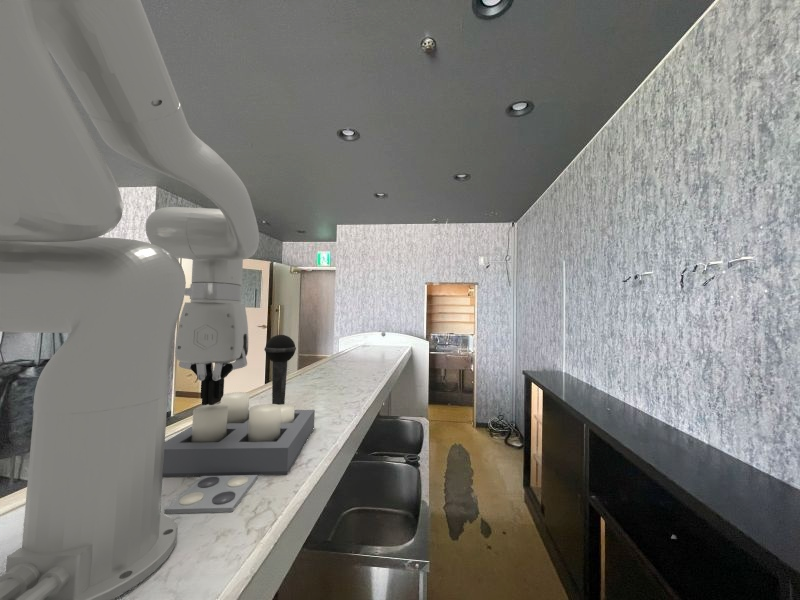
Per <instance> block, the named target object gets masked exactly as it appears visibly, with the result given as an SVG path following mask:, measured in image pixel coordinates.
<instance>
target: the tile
mask: <svg viewBox="0 0 800 600" xmlns="http://www.w3.org/2000/svg"><path fill="white" fill-rule="evenodd" d="M258 477H259V475H232V476H199V478H198V479H197V480H196V481H194V483H192V484H191V485H190V486H189V487H188V488H187V489H186V490H184V491H183V492H181V494H180V495H179V496H178V497H177V498H175V500H173V501H172V502H171V503H169V505H168V506H166V508H164V511H163V512H164V514H163V515H165V514H167V515H168V514H202V513H203V514H205V513H233V512H234V510H235V509H236V508H237V507H238V505H239V504H240V503H241V501H242V499H244V497H245V496H246V495H247V493H248V492H249V490H250V489H251V488H252V487H253V485H254V484H255V483H256V481H257V480H258Z"/></svg>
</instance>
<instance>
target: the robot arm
mask: <svg viewBox="0 0 800 600" xmlns="http://www.w3.org/2000/svg"><path fill="white" fill-rule="evenodd" d="M52 57H53V59H54V61H55V62H56V64H57V65H58V68H60V70H61V72H62V74H63V75H64V77H65V79H66V80H67V82H68V84H69V85H70V86H71V88H72V89H71V90H73V92H74V94H75V95H76V97H77V99H78V100H79V102H80V103H81V105H82V107H83V109H84V110H85V112H86V114H87V115H88V117H89V119H90V120H91V122H92V124H93V126H94V127H95V128H96V130H97V132H98V135H99V136H100V137H101V138H102V139H101V140H102V141H103V142H104V143H105V144H106V145H107V146H108V147H109V148H110V149H111V150H113V151H114V152H116V153H118V154H119V155H121V156H123V157H125V158H127V159H129V160H131V161H134V162H136V163H138V164H140V165H143V166H144V167H147V168H149V169H151V170H154V171H156V172H159V173H161V174H163V175H165V176H168V177H169V178H173V179H174V180H176V181H179V182H182V183H183V184H185V185H187V186H189V187H191V188H193V189H194V190H196V191H198V192H199V193H201V194H202V195H204V196H205V197H207V198H208V199H209V200H210V201H211V202H212V203H213V204H214V205H215V206H216V207H217V208H210V207H209V208H207V207H185V206H184V207H183V206H165V207H159V208H158V209H156V210H154V211H152V212H151V213H150V214H149V216H148V217H147V219H146V221H145V233H146V237H147V239H148V241H149V242H147V241H142V240H137V239H130V238H129V239H128V238H120V237H104V236H105V235H106V234H107V233H110V232H112V231H113V230H114V229H115V228H116V227H117V225H118V224H119V223H120V221H121V219H122V216H123V211H124V210H123V209H124V205H123V199H122V195H121V192H120V189H119V187H118V184H117V181H116V180H115V177H114V175H113V173H112V171H111V169H110V167H109V165H108V164H107V161H106V160H105V159H106V158H105V157H104V156H103V154H102V152H101V150H100V147H99V146H98V144H97V142H96V141H95V139H94V137H93V135H92V133H91V131H90V129H89V127H88V126H87V124H86V122H85V120H84V118H83V116H82V115H81V112H80V111H79V109H78V107H77V105H76V103H75V101H74V99H73V98H72V96H71V93H70V92H69V90H68V89H67V86H66V84H65V82H64V81H63V79H62V77H61V75H60V73H59V71H58V69H57V67H56V65H55V63H54V61H53V59H52ZM257 222H258V221H257V218H256V214H255V211H254V207H253V203H252V200H251V197H250V194H249V192H248V189H247V188H246V186H245V184H244V182H243V181H242V180H241V178H240V177H239V176H238V174H237V173H236V172H235V170H233V168H232V167H231V166H230V165H229V164H228V163H227V162H226V161H225V160H224V159H223V158H222V157H221V156H220V155H219V154H218V153H217V152H216V151H215V150H214V149H213V148H211V147H210V146H209V145H208V144H206V143H205V141H203V140H202V139H200V137H198V136H197V135H196V134H195V133H194V132H193V131H192V129H191V128H190V126H189V124H188V121H187V119H186V116H185V113H184V111H183V107H182V105H181V102H180V100H179V97H178V94H177V92H176V89H175V87H174V84H173V82H172V78H171V76H170V74H169V70H168V68H167V66H166V62H165V61H164V58H163V56H162V53H161V50H160V47H159V45H158V42H157V40H156V36H155V34H154V32H153V29H152V27H151V24H150V21H149V19H148V15H147V13H146V11H145V9H144V6H143V4H142V1H141V0H0V332H3V333H21V334H22V333H26V334H27V333H30V334H31V333H32V334H34V333H36V334H43V333H45V334H46V333H47V334H48V333H49V334H69V335H68V336H67V338H66V339H65V341H64V342H63V343H62V344H61V346H60V347H59V348H58V349H57V350H56V352H54V354H53V355H52V357H51V358H50V359H49V360H48V362H46V364H45V366H44V368H43V369H42V371H41V372H40V374H39V377H38V379H37V383H36V385H35V389H34V393H33V396H34V397H33V404H32V405H33V407H32V410H33V414H32V426H31V427H32V428H31V436H30V437H31V438H30V449H29V460H28V470H27V471H28V472H27V474H28V475H27V484H26V494H25V497H26V498H25V506H24V507H25V508H24V517H23V528H22V529H23V531H22V543H21V547H20V548H18V549H16V550H15V551H14V552H12V553H10V554H9V555H7V556H6V566H5V572H4V574H2V575H0V600H115V599H116V598H118V597H120V596H121V595H123V594H124V593H126V592H129V590H132V589H133V588H135V587H136V586H137V585H138V584H140V583H141V582H143V581H145V579H146V578H148V577H149V576H151V574H153V572H155V571H156V570H157V569H158V568H159V567H160V566H161V565H162V564H163V563H164V562H166V560H167V559H168V557H169V556H170V555H171V553H172V552H173V550H174V549H175V546H176V543H177V540H178V526H177V523H176V522H175V520H174V519H173V518H172V517H170V516H168V515H165V514H161V508H162V507H161V505H162V494H163V493H162V491H163V479H164V477H163V463H164V447H165V441H166V431H167V429H166V428H167V412H168V393H169V378H170V377H169V375H170V366H171V365H170V364H171V356H172V349H173V341H174V337H175V332H176V327H177V324H178V327H177V332H176V339H175V340H176V341H175V350H174V352H175V354H174V356H175V357H174V358H175V359H176V360H177V361H178V366H179V368H182V369H186V370H191V371H192V372H193V373H194V374H195V375H196V376H197V380H198V381H200V399H201V406H205V405H214V404H218V403H219V402H221V398H222V397H223V395H224V392H225V389H224V387H225V378H227V377H228V375H229V374H230V373H231V372H232V371H235V370H239V369H243V368H245V367H247V366H248V360H247V355H248V351H249V325H248V316H247V311H246V306H245V304H244V303H242V288H243V286H242V285H243V267H244V266H243V264H244V260H246V259H249V258H252V257H253V256H254V255H255V253H256V252H257V250H258V249H259V244H260V232H259V226H258V223H257ZM102 236H103V237H102ZM178 259H187V260H192V266H191V269H192V270H191V283H190V285H189V287H186V283H187V282H186V275H185V272H184V269H183V266H182V265H181V262H180V261H178ZM185 296H186V297H188V296H189V300H190V302H189V301H188V302H187V301H186V302H184V299H185ZM183 303H184V305H183ZM180 313H181V315H180ZM179 317H180V318H179ZM178 320H179V321H178Z"/></svg>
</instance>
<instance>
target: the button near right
mask: <svg viewBox="0 0 800 600" xmlns="http://www.w3.org/2000/svg"><path fill="white" fill-rule="evenodd" d="M280 424H281V406H280V405H278V404H272V403H265V404H263V403H262V404H258V405H253V406H252V407H249V428H248V441H249V442H272V441H275V440H277V439H278V438H279V437H280Z"/></svg>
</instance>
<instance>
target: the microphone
mask: <svg viewBox="0 0 800 600" xmlns="http://www.w3.org/2000/svg"><path fill="white" fill-rule="evenodd" d="M296 350H297V347H296V345H295V342H294V340H293V339H292V338H291V337H290V336H288V335H285V334H277V335H274V336H272V337H270V339H269V340H268V341H267V342H266V344H265V347H264V352H265V355H266V358H267V359H269V360H270V361H271V362H272V364H271V365H272V366H271V367H272V368H271V369H272V370H271V371H272V372H271V373H272V374H271V375H272V376H271V377H272V378H271V379H272V381H271V382H272V383H271V384H272V385H271V386H272V387H271V390H272V391H271V395H272V397H271V401H272V402H271V404H278V405H281V404H285V403H286V402H285V400H286V388H287V387H286V386H287V376H288V375H287V374H288V362H289V361H290V360H291V359H292V358H293V356H294V355H295V352H296Z"/></svg>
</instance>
